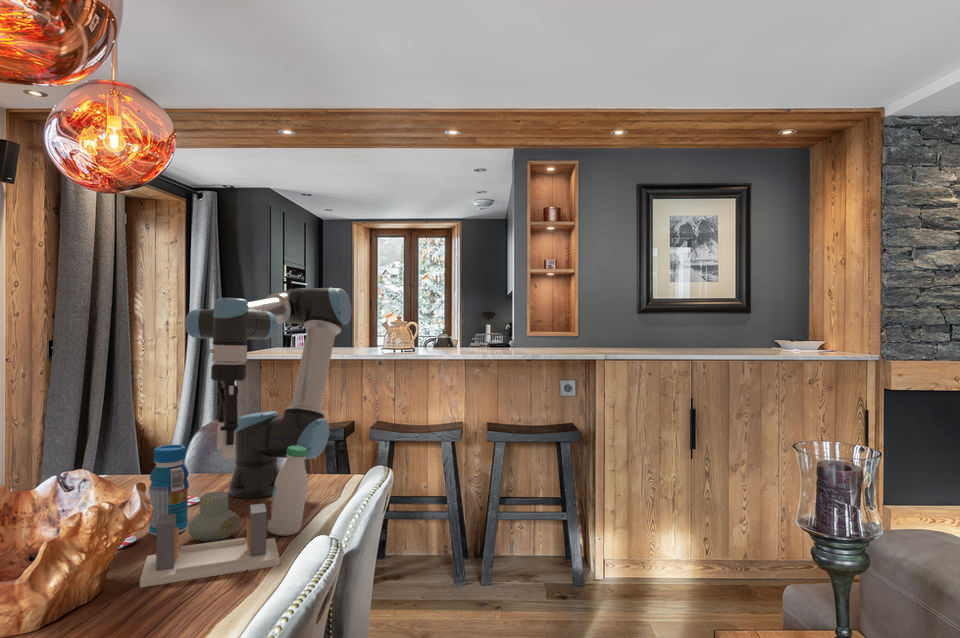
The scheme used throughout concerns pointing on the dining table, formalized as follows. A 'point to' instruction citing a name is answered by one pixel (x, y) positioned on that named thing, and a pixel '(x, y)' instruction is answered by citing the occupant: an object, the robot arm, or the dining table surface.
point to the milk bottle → (289, 494)
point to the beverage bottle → (169, 486)
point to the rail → (208, 552)
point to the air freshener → (213, 519)
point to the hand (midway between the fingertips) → (225, 454)
